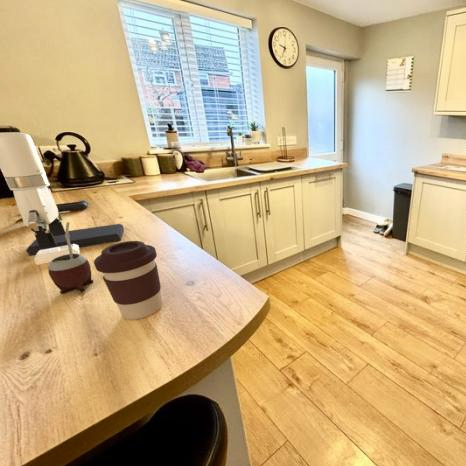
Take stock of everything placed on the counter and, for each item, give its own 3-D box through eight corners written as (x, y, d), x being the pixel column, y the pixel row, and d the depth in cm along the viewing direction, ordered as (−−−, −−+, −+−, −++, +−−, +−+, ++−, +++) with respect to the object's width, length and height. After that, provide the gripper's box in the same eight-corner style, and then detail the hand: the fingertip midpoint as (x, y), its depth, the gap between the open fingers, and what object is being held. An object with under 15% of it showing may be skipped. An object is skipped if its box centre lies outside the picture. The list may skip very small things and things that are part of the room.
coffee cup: (144, 328, 57) (122, 260, 51) (102, 321, 59) (76, 256, 53) (180, 299, 66) (164, 239, 60) (142, 294, 68) (124, 235, 62)
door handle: (28, 204, 125) (18, 211, 113) (88, 197, 136) (85, 203, 124) (31, 211, 126) (21, 219, 114) (91, 204, 137) (87, 210, 125)
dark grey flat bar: (28, 255, 85) (25, 248, 84) (41, 241, 95) (38, 234, 94) (120, 240, 96) (118, 233, 95) (124, 229, 106) (122, 223, 105)
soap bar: (39, 258, 84) (35, 250, 83) (80, 250, 89) (77, 242, 88) (36, 265, 80) (32, 256, 79) (79, 256, 85) (76, 248, 84)
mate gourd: (65, 299, 66) (39, 238, 60) (51, 289, 69) (25, 231, 63) (103, 283, 72) (83, 227, 66) (89, 275, 75) (68, 221, 69)
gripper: (21, 177, 81) (45, 233, 88) (-7, 190, 67) (24, 255, 74) (56, 175, 85) (78, 229, 91) (37, 186, 71) (63, 248, 78)
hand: (54, 240), depth 83 cm, fingers open, 9 cm apart
